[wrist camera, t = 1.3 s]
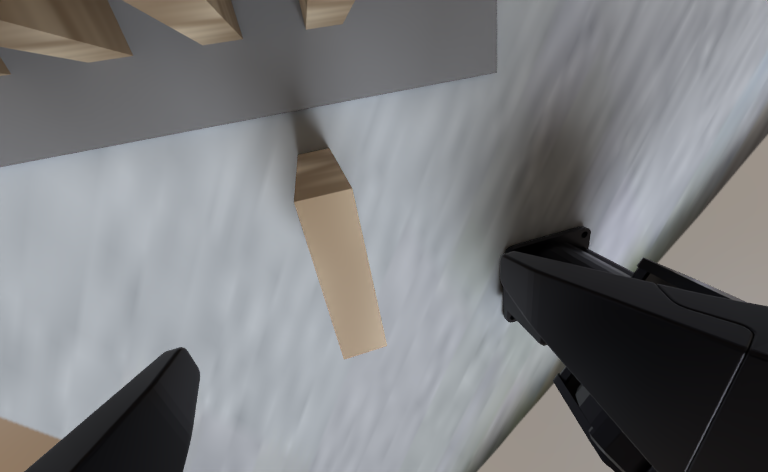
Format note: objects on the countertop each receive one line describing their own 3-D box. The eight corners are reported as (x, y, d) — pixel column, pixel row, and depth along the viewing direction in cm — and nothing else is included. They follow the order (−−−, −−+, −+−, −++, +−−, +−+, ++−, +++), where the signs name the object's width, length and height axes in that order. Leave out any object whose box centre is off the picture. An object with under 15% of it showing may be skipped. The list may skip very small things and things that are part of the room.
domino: (329, 148, 15) (352, 188, 8) (353, 249, 18) (387, 345, 11) (297, 154, 15) (294, 202, 8) (327, 256, 18) (344, 359, 11)
